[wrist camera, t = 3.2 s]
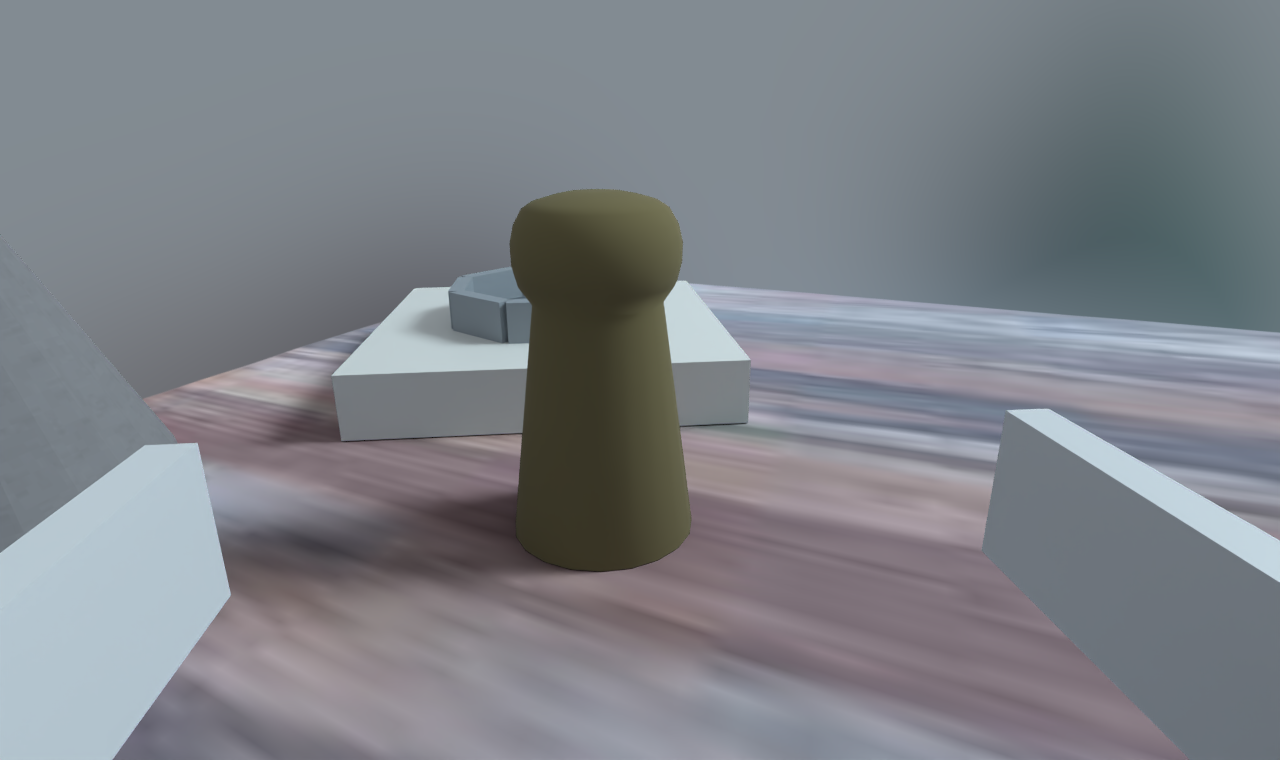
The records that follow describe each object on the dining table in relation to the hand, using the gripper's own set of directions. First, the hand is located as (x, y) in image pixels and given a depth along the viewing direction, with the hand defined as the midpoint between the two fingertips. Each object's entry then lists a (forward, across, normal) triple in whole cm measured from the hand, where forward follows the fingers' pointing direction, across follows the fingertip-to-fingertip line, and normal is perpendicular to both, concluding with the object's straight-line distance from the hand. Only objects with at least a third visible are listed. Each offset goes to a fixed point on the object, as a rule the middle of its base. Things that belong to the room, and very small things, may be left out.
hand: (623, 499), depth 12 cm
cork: (+11, 0, -7) cm, 13 cm away
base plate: (+28, -2, -7) cm, 29 cm away
